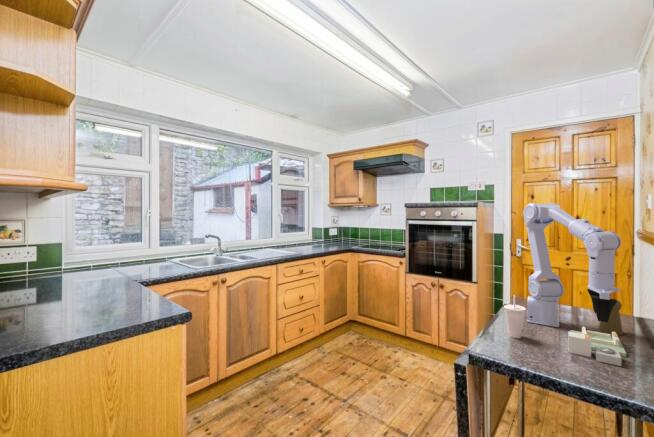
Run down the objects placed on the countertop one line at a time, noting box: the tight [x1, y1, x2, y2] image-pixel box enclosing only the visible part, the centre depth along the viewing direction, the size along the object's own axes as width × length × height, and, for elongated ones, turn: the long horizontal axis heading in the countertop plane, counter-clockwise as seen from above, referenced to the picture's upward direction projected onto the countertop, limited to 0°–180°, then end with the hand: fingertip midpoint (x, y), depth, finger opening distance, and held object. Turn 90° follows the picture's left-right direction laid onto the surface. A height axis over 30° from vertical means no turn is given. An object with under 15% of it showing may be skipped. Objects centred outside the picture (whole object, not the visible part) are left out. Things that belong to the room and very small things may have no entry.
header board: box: [569, 326, 627, 358], centre depth 95 cm, size 12×12×3 cm
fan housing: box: [593, 345, 622, 367], centre depth 86 cm, size 5×6×3 cm
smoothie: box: [503, 294, 527, 339], centre depth 102 cm, size 6×6×14 cm
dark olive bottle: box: [598, 299, 624, 336], centre depth 104 cm, size 6×6×11 cm
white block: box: [567, 330, 592, 358], centre depth 90 cm, size 5×4×5 cm
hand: (600, 317), depth 92 cm, fingers open, 7 cm apart
